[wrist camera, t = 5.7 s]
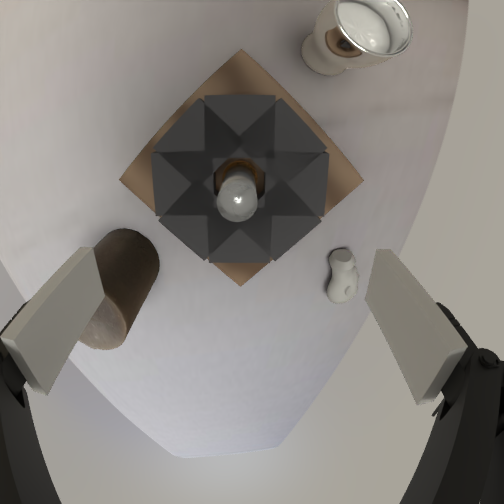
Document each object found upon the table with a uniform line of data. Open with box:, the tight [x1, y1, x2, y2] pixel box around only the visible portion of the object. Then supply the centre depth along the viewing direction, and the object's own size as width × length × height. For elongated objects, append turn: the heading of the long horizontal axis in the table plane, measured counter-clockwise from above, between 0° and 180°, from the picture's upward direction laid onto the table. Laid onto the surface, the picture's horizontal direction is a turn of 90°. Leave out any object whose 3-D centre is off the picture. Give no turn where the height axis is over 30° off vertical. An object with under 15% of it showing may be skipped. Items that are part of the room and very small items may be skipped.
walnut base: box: [119, 49, 364, 287], centre depth 34 cm, size 21×21×2 cm
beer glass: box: [301, 0, 413, 76], centre depth 21 cm, size 7×7×15 cm
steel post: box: [217, 160, 258, 222], centre depth 28 cm, size 4×4×11 cm
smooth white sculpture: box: [327, 249, 359, 304], centre depth 40 cm, size 4×8×5 cm
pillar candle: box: [78, 229, 159, 350], centre depth 33 cm, size 10×10×15 cm
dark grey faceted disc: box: [151, 95, 329, 263], centre depth 30 cm, size 18×18×2 cm
